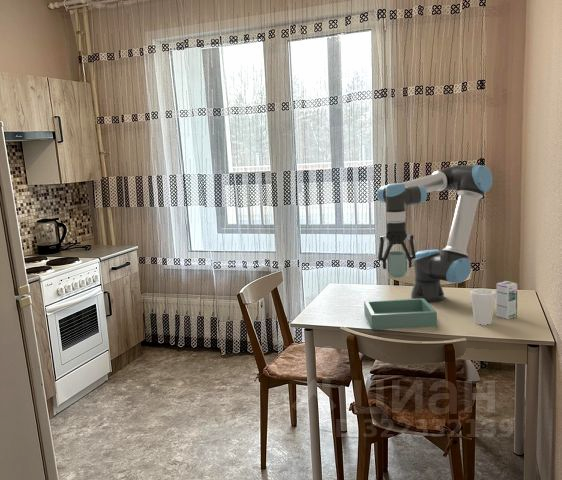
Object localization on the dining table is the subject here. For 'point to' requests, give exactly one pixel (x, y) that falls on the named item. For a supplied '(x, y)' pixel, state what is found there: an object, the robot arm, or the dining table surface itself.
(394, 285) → the dining table surface
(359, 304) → the dining table surface
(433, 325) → the tray
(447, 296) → the dining table surface
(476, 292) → the foam cup
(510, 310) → the syrup box
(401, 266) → the cup
